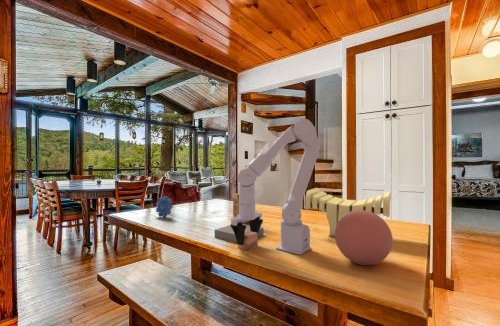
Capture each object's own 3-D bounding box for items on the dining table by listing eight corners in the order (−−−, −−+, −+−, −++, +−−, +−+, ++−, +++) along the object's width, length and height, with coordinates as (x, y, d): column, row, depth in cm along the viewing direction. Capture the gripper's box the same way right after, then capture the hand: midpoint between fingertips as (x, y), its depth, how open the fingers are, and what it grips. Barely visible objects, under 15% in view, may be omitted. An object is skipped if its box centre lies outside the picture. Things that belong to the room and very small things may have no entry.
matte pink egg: (386, 252, 83) (385, 205, 83) (397, 278, 64) (397, 217, 64) (336, 246, 88) (336, 202, 88) (333, 269, 70) (333, 214, 70)
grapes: (178, 217, 140) (177, 195, 140) (169, 219, 134) (168, 196, 133) (162, 215, 145) (162, 194, 145) (153, 217, 139) (152, 195, 139)
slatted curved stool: (305, 234, 103) (305, 191, 103) (316, 226, 117) (316, 187, 117) (389, 246, 88) (389, 195, 88) (390, 235, 102) (390, 190, 102)
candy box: (237, 227, 115) (237, 194, 115) (232, 226, 119) (232, 193, 119) (253, 225, 120) (253, 192, 120) (248, 223, 124) (248, 192, 124)
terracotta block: (257, 246, 89) (257, 232, 89) (248, 250, 86) (248, 236, 86) (246, 244, 93) (246, 230, 93) (237, 247, 89) (237, 233, 89)
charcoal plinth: (263, 235, 103) (263, 227, 103) (240, 244, 92) (240, 235, 92) (238, 229, 112) (237, 222, 112) (214, 237, 101) (214, 229, 101)
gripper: (251, 199, 97) (251, 235, 97) (224, 204, 86) (224, 244, 86) (266, 201, 93) (266, 238, 93) (240, 207, 81) (240, 249, 82)
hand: (247, 241), depth 89 cm, fingers open, 7 cm apart
